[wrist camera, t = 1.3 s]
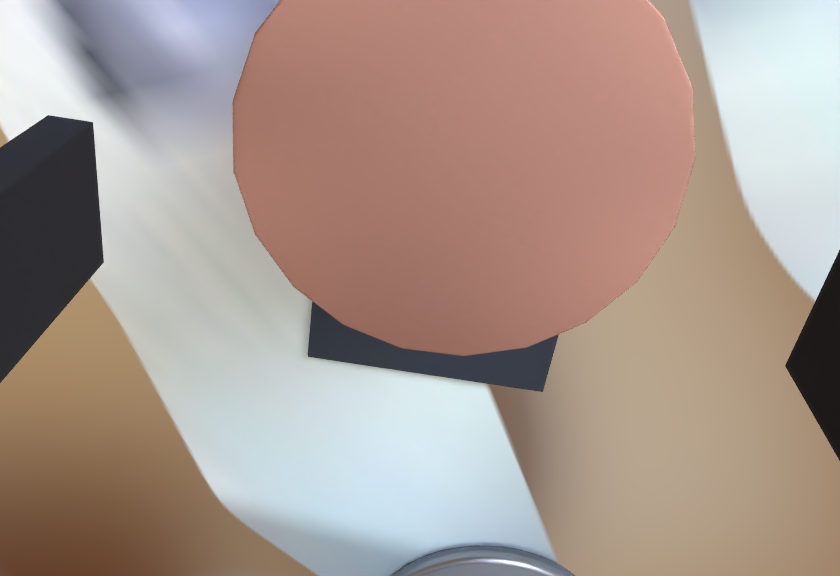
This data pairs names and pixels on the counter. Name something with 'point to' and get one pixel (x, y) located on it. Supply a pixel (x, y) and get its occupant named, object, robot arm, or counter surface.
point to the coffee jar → (463, 161)
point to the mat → (430, 356)
